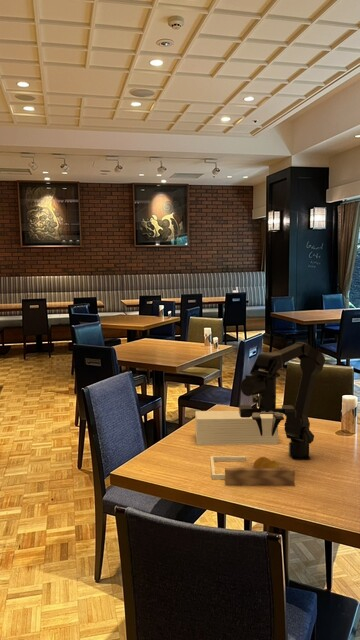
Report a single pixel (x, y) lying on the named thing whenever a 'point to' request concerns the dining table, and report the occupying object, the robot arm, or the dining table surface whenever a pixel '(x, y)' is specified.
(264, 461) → the bread roll
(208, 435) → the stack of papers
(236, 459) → the serving bay
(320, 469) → the dining table surface
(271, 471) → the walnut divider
